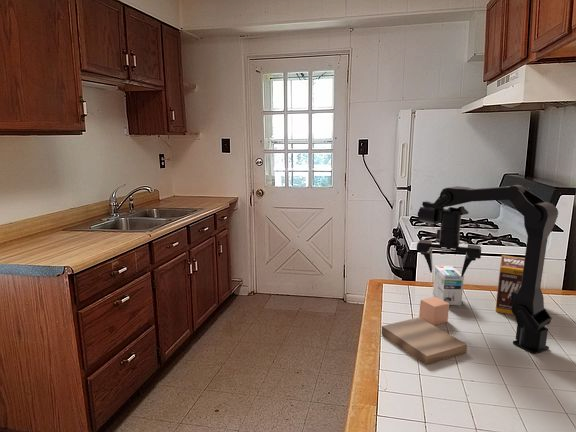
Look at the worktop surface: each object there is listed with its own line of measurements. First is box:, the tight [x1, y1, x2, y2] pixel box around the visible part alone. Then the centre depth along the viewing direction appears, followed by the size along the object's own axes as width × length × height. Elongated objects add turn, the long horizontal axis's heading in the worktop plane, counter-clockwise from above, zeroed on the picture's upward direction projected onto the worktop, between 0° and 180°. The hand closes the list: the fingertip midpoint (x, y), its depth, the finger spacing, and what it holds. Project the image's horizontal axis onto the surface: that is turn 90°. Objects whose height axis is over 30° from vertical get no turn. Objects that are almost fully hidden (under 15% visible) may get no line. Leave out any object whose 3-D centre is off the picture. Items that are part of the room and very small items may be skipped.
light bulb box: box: [432, 265, 465, 306], centre depth 145 cm, size 11×7×11 cm, turn 179°
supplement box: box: [495, 255, 525, 316], centre depth 139 cm, size 10×15×16 cm
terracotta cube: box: [418, 296, 450, 326], centre depth 130 cm, size 6×6×6 cm
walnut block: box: [381, 316, 468, 366], centre depth 115 cm, size 18×14×3 cm
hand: (446, 274), depth 132 cm, fingers open, 9 cm apart
